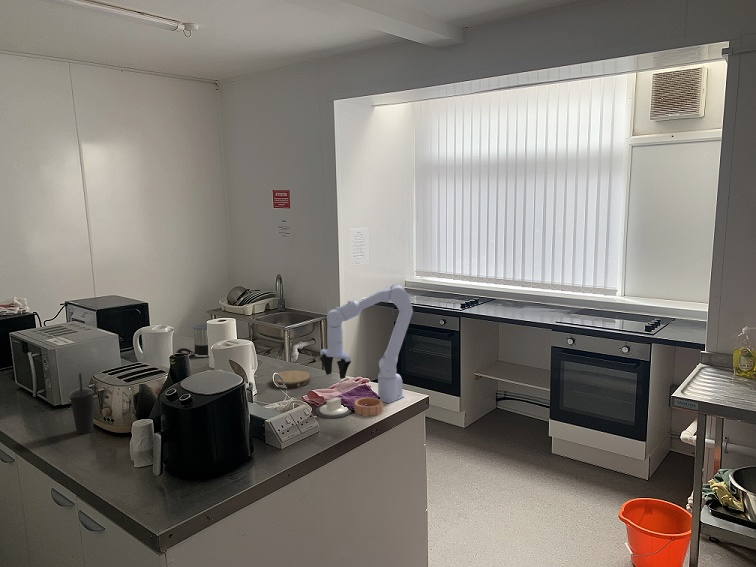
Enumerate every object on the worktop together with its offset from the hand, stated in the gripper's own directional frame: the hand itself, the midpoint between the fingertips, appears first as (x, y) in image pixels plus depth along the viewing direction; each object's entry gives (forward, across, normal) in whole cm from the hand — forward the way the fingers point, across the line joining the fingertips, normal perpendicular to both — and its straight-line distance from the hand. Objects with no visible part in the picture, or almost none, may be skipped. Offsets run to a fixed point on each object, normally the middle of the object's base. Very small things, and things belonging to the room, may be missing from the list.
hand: (335, 376), depth 220 cm
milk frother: (+10, -95, -3) cm, 95 cm away
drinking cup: (+10, -42, -76) cm, 87 cm away
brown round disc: (+10, -29, +2) cm, 31 cm away
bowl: (+9, +17, 0) cm, 19 cm away
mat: (+9, +8, -9) cm, 15 cm away
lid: (+9, +8, -9) cm, 15 cm away
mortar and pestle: (+10, -26, -26) cm, 38 cm away
